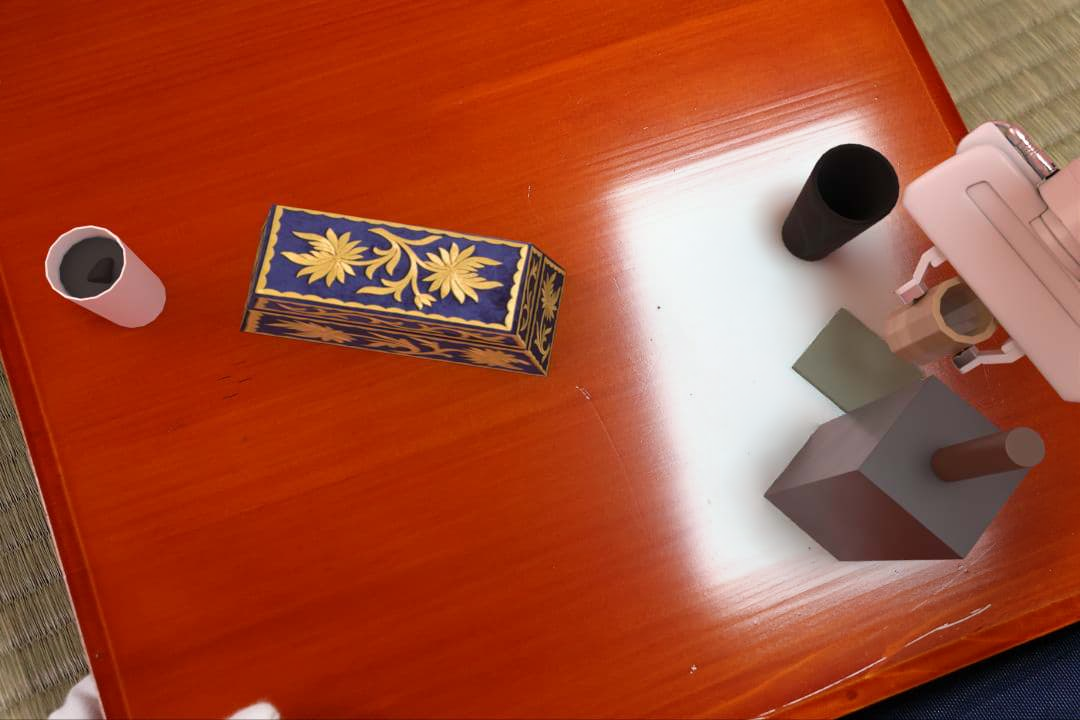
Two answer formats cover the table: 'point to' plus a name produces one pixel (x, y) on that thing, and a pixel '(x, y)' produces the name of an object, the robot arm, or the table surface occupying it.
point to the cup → (840, 201)
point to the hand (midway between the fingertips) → (929, 331)
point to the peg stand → (905, 477)
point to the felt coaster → (853, 364)
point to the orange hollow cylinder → (939, 323)
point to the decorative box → (404, 290)
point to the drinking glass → (104, 277)
